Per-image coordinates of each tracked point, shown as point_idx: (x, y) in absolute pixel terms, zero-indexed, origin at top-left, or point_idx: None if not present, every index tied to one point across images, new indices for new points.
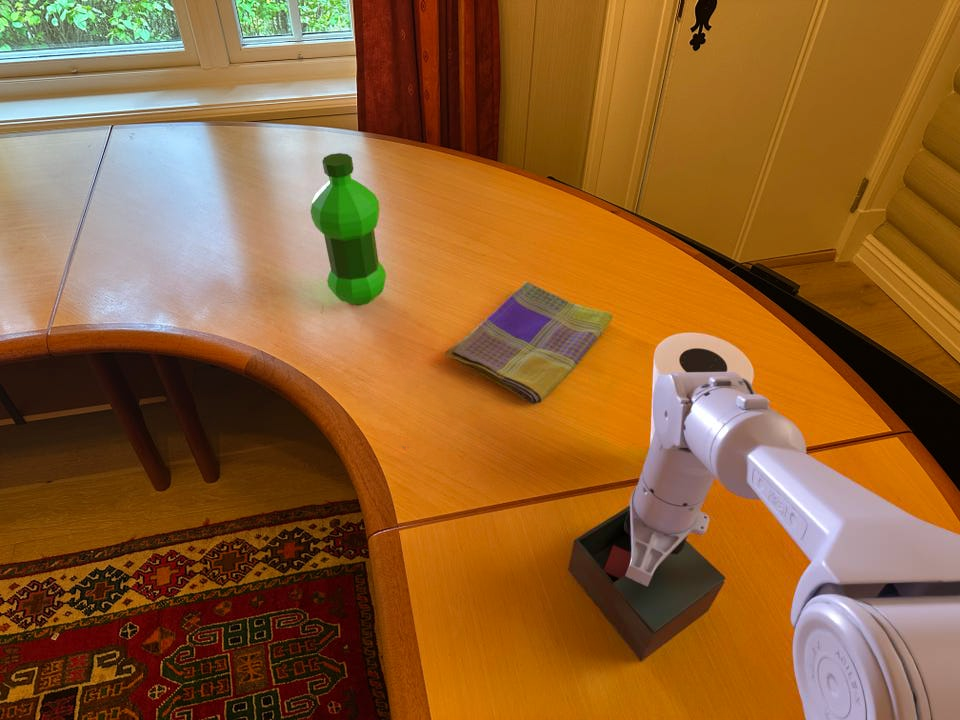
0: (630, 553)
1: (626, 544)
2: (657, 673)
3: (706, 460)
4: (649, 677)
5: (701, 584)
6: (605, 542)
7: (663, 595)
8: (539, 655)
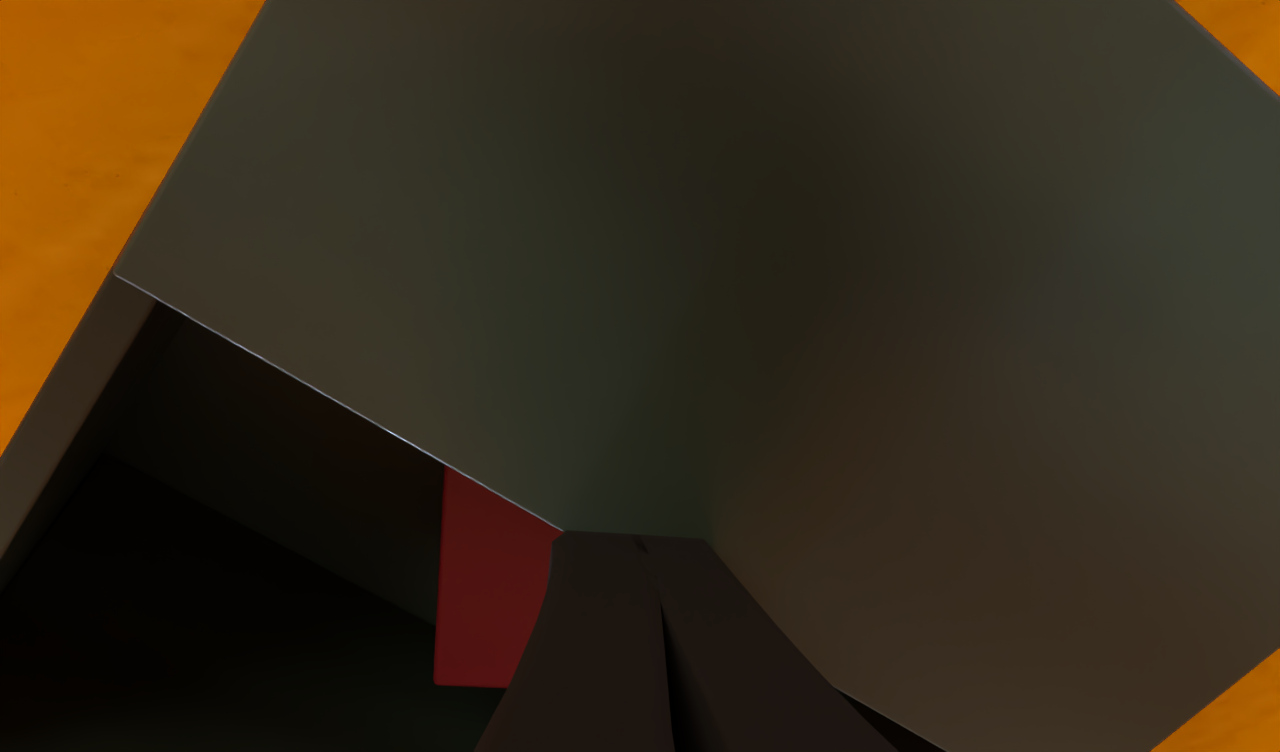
0: (452, 548)
1: (261, 468)
2: (1224, 22)
3: None
4: (1263, 76)
5: None
6: (380, 671)
7: (1122, 369)
8: (1231, 717)
